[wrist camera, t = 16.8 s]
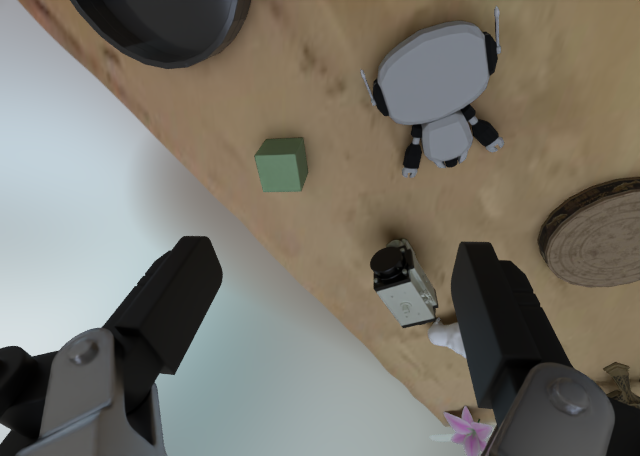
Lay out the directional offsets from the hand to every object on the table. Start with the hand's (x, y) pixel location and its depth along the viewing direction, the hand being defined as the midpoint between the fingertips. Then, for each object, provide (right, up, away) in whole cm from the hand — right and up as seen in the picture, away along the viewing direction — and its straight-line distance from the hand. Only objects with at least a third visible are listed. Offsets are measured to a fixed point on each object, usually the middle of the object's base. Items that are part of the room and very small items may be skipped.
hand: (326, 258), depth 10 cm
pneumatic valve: (+13, -2, +38) cm, 40 cm away
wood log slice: (+38, +1, +31) cm, 49 cm away
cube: (-5, +11, +31) cm, 33 cm away
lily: (+37, -46, +68) cm, 90 cm away
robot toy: (+13, +15, +25) cm, 32 cm away
